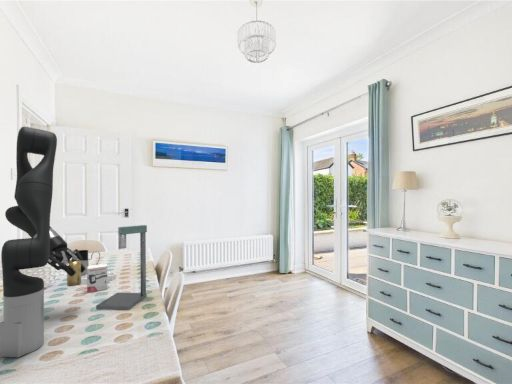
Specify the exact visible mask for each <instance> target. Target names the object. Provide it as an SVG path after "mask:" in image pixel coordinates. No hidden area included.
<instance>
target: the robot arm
mask: <svg viewBox="0 0 512 384" xmlns="http://www.w3.org/2000/svg"><path fill="white" fill-rule="evenodd" d="M57 146H58V138H57V135H56V134H55V133H54V132H52V131H50V130H49V131H48V130H44V129H39V128H35V127H30V126H21V127H20V129H19V130H18V133H17V138H16V151H15V152H16V157H15V158H16V161H15V162H16V163H15V164H16V181H15V183H16V184H15V187H14V188H15V189H14V200H15V201H16V204H17V205H13V206H10V207H8V208H7V209H6V210H5V214H4V216H5V219H6V220H7V221H8V222H9V223H10V224H11V225H12V226H14V227H16V228H17V229H19V230H21V231H23V232H25V233H26V234H27V235H28V236H29V238H17V239H16V238H14V239H8V240H6V241H5V242H4V243H3V244H2V248H1V253H0V254H1V255H0V256H1V257H0V258H1V271H2V289H3V291H2V292H3V293H2V294H3V295H2V299H3V300H2V302H3V303H2V309H3V311H2V312H3V313H2V314H3V315H2V316H3V317H2V319H3V320H2V322H0V357H1V358H21V357H22V356H24V355H27V354H30V353H32V352H34V351H36V350H38V349H40V348H41V347H42V346H43V345H44V344H45V281H44V279H43V278H42V277H39V276H32V275H28V274H25V273H23V272H21V271H20V270H28V269H37V268H42V267H43V268H44V267H45V266H47V264H48V265H49V266H51V267H52V268H54V269H56V270H57V271H60V270H62V271H64V272H65V273H66V274H67V273H68V275H70V276H73V275H74V274H75V273H76V271H75V270H74V269H73V268H72V267H71V266H69V264H68V262H69V261H72V258H76V260H81V261H82V260H83V258H82V256H81V254H80V253H79V249H76V248H75V249H74V250H72V249H71V248H68V242H67V241H65V239H64V238H63V237H62V236H61V235H60V234H59V233H58V232H57V231H56V230H55V229H53V228H52V227H51V226H50V224H51V210H52V201H53V193H54V192H53V188H54V187H53V186H54V168H55V167H54V166H55V160H56V155H57V153H56V152H57ZM28 154H33V155H40V156H43V158H42V159H41V160H40V161H39V163H38V164H37V165H35V166H34V167H32V165H31V163H30V161H29V157H28ZM78 258H79V259H78ZM85 269H86V268H85V267H84V266H83V265H82V263H81V273H82V272H84V271H85Z"/></svg>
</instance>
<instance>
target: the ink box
mask: <svg viewBox="0 0 512 384" xmlns="http://www.w3.org/2000/svg"><path fill="white" fill-rule="evenodd" d="M107 272H108V264H107V263H100V264H97V265H96V264H95V265H88V267H87V284H86V289H87V291H86V293H87V294H88V293H94V292H100V291H105V290H108V289H109V288H108V287H109V286H108V281H107Z"/></svg>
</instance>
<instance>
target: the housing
mask: <svg viewBox="0 0 512 384" xmlns="http://www.w3.org/2000/svg"><path fill="white" fill-rule="evenodd" d="M71 259H72V261H69V262H68V264H69V266H71V267H72V268H73V269H74V270H75V271H76V273H75V274H74V275H73V276H70V275H68V273H66V286H67V287H76V286H81V285H80V284H81V260H76V258H71Z"/></svg>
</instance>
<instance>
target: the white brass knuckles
mask: <svg viewBox="0 0 512 384" xmlns="http://www.w3.org/2000/svg"><path fill="white" fill-rule="evenodd" d="M115 280H117V273H116V272H112V271H107V282H112V281H115ZM82 285H87V275H85V276H81V284H80V285H79V286H82Z"/></svg>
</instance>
